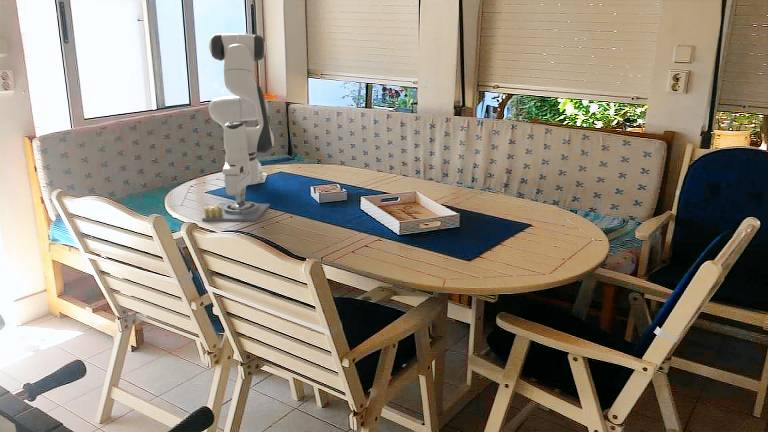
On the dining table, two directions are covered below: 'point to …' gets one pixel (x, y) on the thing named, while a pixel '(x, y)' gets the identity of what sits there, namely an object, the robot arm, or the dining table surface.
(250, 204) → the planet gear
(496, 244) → the dining table surface
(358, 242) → the dining table surface
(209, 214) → the carrier board
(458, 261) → the dining table surface
